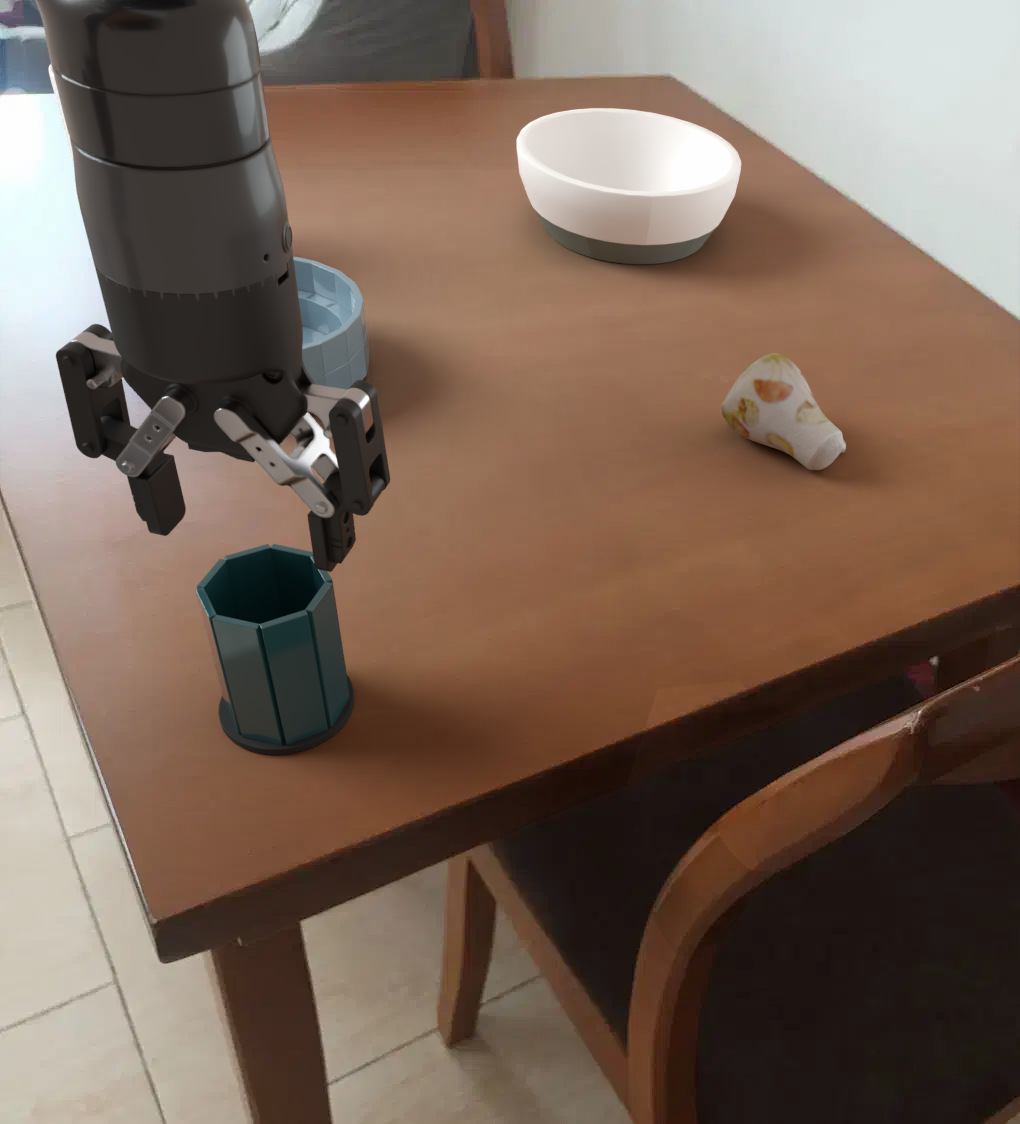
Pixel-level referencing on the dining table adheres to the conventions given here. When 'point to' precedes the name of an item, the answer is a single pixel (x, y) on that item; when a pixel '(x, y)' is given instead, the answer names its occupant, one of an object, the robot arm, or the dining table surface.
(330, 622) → the teal cup
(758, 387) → the white pear shape
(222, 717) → the coaster
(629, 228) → the bowl
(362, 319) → the glazed bowl
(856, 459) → the dining table surface
